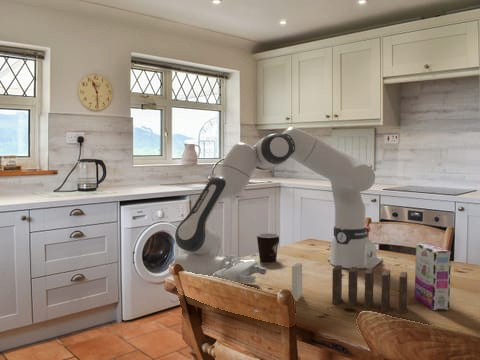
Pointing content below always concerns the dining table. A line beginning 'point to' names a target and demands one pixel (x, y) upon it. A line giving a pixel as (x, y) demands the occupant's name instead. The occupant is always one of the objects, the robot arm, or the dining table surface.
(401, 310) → the domino
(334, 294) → the domino
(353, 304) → the domino
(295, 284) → the ivory domino
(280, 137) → the robot arm
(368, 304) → the domino
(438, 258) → the candy bar box
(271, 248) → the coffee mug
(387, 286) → the domino
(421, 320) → the dining table surface
